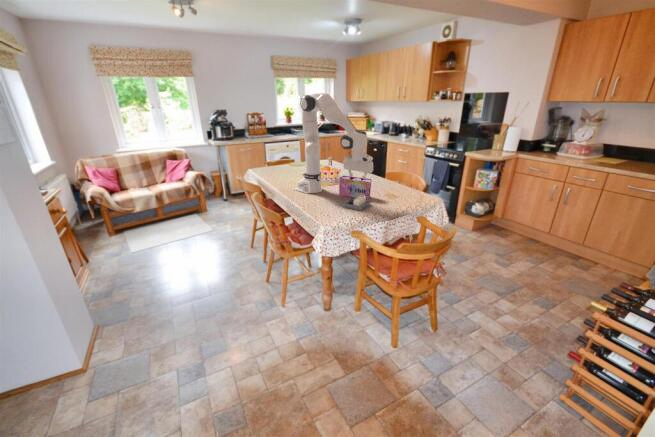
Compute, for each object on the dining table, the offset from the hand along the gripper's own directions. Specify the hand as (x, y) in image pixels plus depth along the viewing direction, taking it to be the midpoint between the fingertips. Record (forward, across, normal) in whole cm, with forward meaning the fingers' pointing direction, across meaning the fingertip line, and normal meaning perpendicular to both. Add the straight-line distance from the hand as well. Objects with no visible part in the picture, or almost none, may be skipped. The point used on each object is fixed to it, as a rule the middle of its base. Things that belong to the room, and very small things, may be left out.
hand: (357, 177), depth 196 cm
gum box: (+20, -10, +19) cm, 29 cm away
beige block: (+20, +3, 0) cm, 20 cm away
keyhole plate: (+20, +1, 0) cm, 20 cm away
